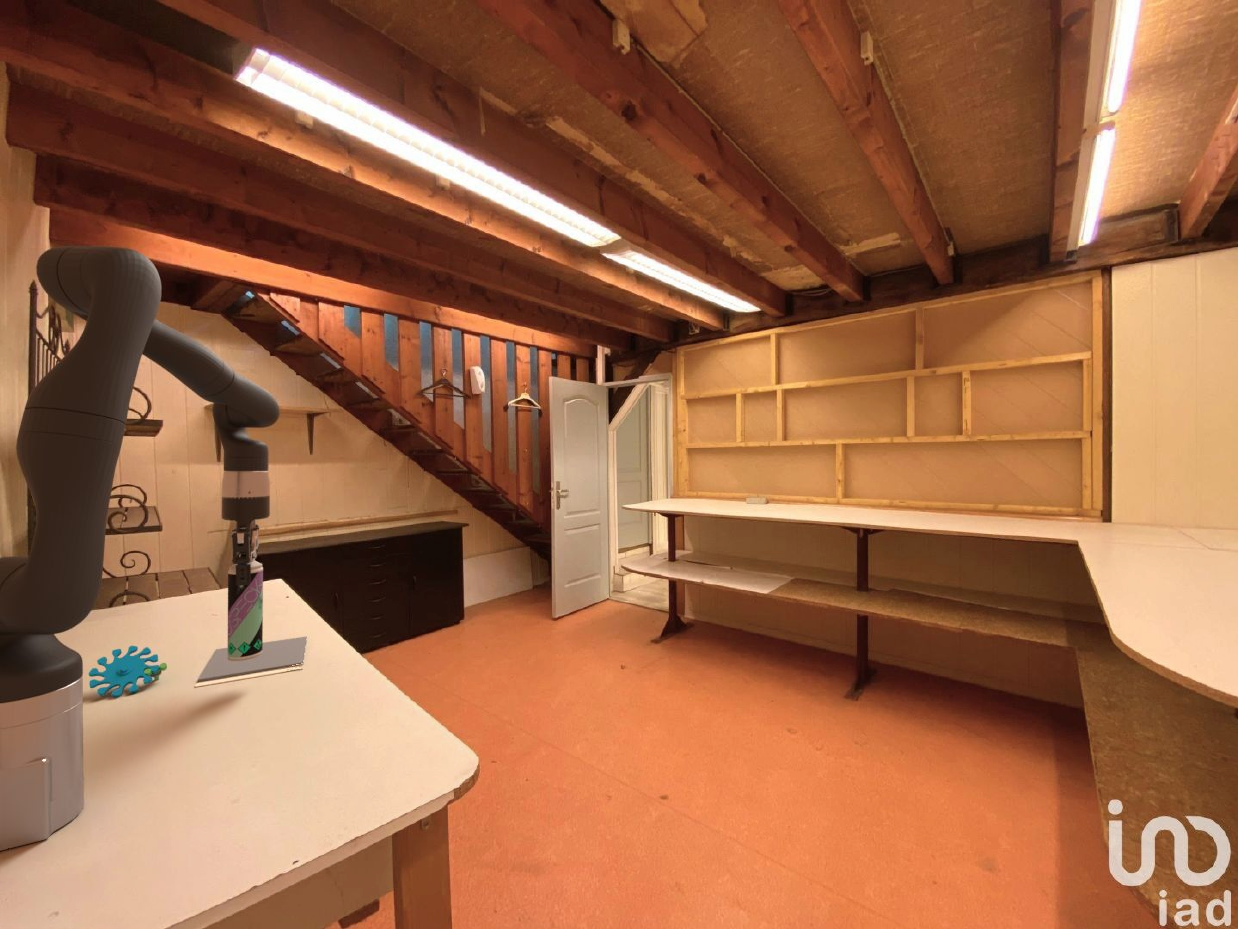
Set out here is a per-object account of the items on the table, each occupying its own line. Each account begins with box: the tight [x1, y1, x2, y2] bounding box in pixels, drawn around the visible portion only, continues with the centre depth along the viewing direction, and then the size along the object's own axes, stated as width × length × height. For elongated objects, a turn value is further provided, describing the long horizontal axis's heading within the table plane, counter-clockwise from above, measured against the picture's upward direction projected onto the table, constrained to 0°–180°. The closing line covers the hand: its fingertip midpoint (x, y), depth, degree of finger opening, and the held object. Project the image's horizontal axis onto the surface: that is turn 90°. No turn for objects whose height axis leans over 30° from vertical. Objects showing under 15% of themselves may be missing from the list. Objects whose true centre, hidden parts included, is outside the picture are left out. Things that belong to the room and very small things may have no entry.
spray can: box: [227, 553, 264, 661], centre depth 98 cm, size 6×6×20 cm
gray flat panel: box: [194, 636, 308, 688], centre depth 113 cm, size 21×18×1 cm
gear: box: [88, 645, 168, 698], centre depth 100 cm, size 11×6×10 cm
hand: (245, 581), depth 98 cm, fingers closed on spray can, 5 cm apart
